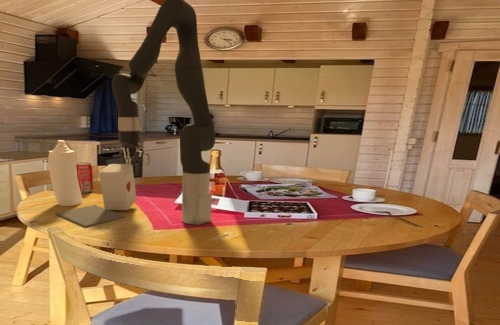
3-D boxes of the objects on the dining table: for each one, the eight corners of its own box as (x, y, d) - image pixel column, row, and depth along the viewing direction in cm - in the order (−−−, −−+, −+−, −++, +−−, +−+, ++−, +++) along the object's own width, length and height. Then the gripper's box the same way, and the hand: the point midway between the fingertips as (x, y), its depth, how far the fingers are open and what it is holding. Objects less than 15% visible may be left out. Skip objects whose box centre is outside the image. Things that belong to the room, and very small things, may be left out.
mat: (125, 217, 111) (125, 215, 111) (85, 227, 100) (85, 225, 100) (94, 206, 123) (94, 204, 123) (55, 214, 111) (55, 212, 111)
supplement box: (128, 210, 116) (123, 172, 111) (104, 210, 116) (97, 172, 111) (137, 199, 125) (133, 163, 120) (114, 199, 125) (109, 163, 120)
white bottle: (81, 207, 121) (79, 141, 118) (48, 209, 117) (45, 141, 114) (84, 199, 132) (82, 139, 128) (54, 201, 128) (51, 138, 124)
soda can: (96, 191, 146) (95, 163, 144) (81, 194, 140) (80, 165, 138) (87, 189, 150) (86, 161, 148) (72, 191, 144) (71, 163, 142)
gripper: (148, 129, 119) (151, 175, 122) (127, 128, 126) (130, 170, 129) (131, 130, 113) (133, 178, 116) (109, 129, 120) (113, 174, 123)
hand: (131, 174), depth 123 cm, fingers closed
